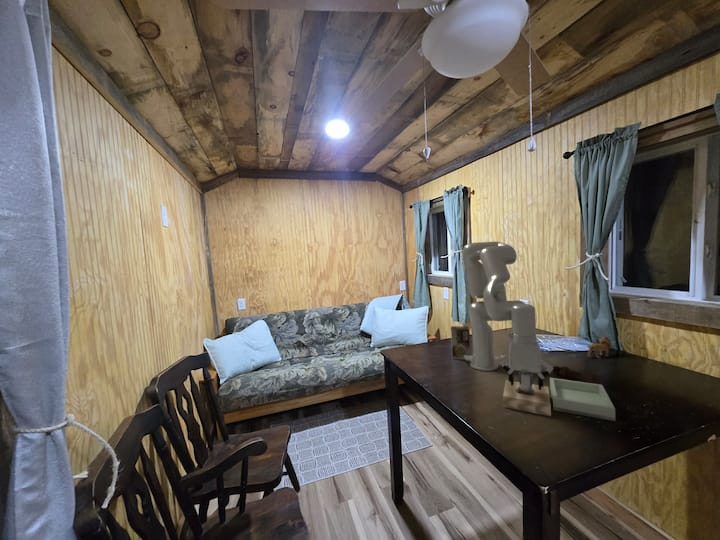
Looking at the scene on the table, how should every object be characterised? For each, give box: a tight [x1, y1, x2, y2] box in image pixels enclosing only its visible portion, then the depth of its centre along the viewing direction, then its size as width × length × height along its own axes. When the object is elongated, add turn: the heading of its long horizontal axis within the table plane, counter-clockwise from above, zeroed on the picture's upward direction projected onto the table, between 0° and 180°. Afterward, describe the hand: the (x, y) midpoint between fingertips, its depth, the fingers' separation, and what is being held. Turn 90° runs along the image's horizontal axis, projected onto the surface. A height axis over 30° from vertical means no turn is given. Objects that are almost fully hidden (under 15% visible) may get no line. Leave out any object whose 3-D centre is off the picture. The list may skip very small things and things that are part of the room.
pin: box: [518, 370, 533, 396], centre depth 101 cm, size 6×6×13 cm
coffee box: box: [450, 325, 472, 360], centre depth 148 cm, size 9×6×16 cm
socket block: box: [502, 379, 552, 417], centre depth 102 cm, size 14×14×4 cm
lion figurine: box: [586, 336, 612, 359], centre depth 139 cm, size 15×5×9 cm, turn 113°
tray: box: [549, 377, 616, 422], centre depth 99 cm, size 16×18×4 cm
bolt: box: [551, 365, 598, 384], centre depth 117 cm, size 6×5×15 cm
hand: (525, 385), depth 101 cm, fingers open, 8 cm apart
